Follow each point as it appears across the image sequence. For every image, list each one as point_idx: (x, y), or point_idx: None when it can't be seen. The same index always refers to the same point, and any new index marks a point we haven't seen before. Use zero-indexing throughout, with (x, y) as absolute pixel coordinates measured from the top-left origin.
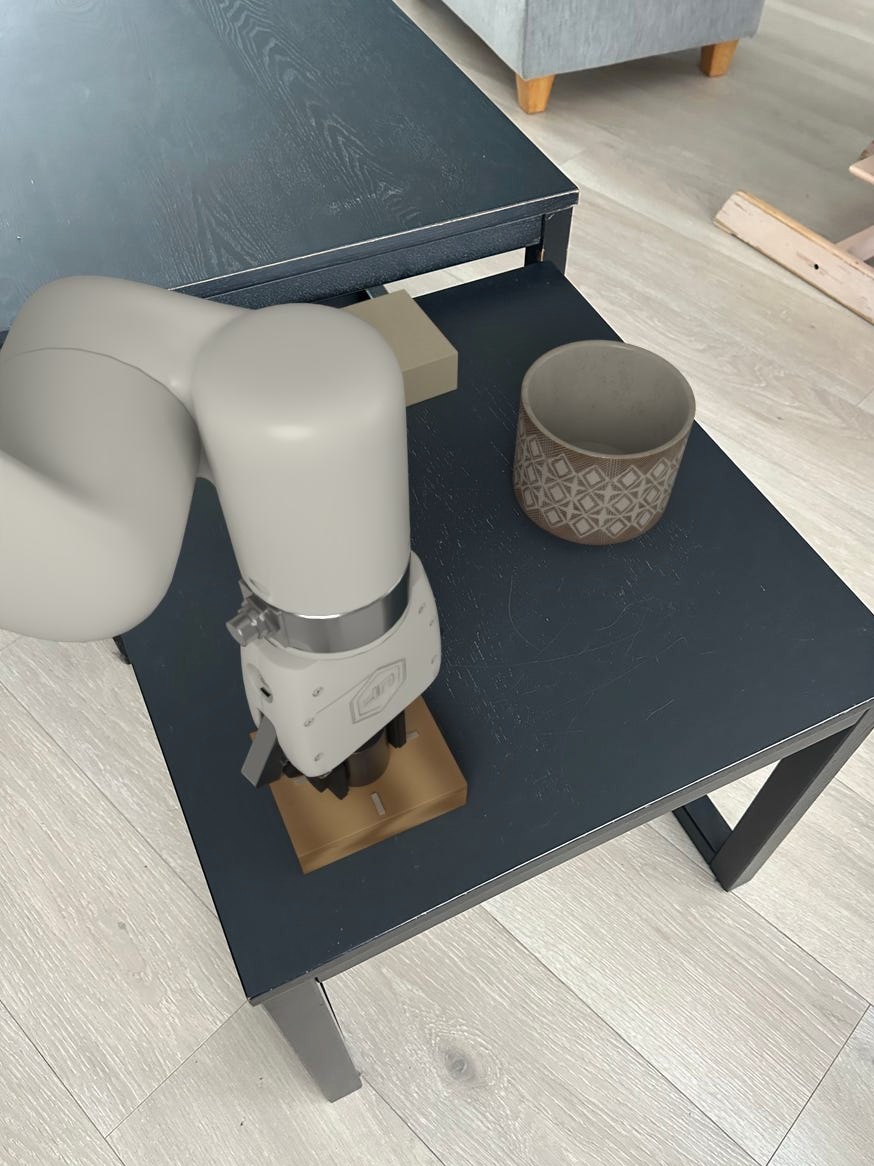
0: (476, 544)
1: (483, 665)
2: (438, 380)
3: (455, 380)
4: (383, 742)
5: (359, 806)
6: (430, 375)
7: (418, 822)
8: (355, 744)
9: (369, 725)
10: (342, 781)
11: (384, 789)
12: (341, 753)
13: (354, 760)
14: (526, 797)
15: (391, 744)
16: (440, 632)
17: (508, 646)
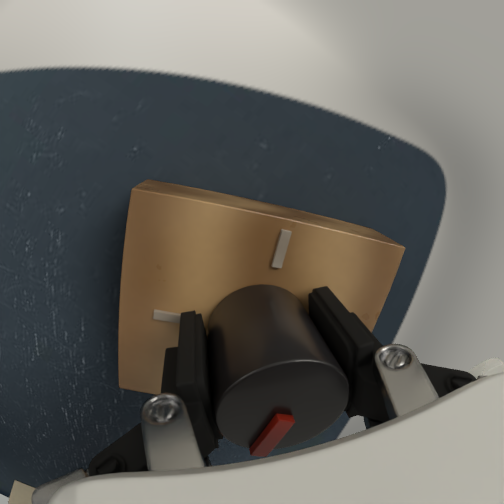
0: (15, 416)
1: (37, 328)
2: (24, 494)
3: (14, 486)
4: (247, 351)
5: (305, 262)
6: (28, 501)
7: (224, 194)
8: (448, 431)
9: (417, 495)
10: (342, 317)
11: (256, 264)
12: (493, 417)
13: (319, 346)
14: (74, 140)
15: (203, 322)
16: (38, 500)
17: (8, 328)
